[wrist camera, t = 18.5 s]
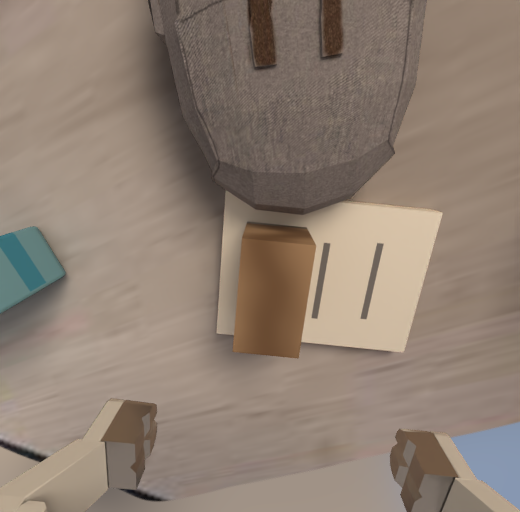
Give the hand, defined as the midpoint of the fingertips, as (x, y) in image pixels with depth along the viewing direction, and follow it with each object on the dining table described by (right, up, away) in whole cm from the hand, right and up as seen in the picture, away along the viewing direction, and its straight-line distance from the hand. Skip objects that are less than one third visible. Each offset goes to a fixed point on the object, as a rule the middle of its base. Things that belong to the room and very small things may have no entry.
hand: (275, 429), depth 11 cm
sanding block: (0, +4, +14) cm, 15 cm away
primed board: (+4, +5, +16) cm, 17 cm away
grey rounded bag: (+1, +19, +11) cm, 22 cm away
